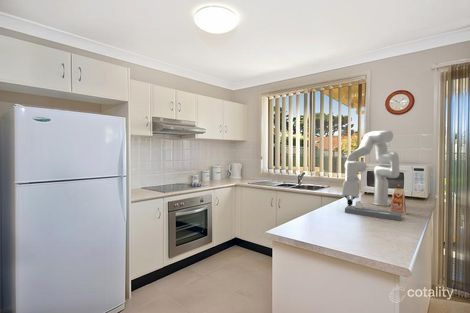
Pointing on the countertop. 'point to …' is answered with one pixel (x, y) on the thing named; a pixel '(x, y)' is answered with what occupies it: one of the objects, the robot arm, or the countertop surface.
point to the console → (374, 213)
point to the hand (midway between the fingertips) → (349, 205)
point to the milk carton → (398, 201)
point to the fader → (359, 204)
